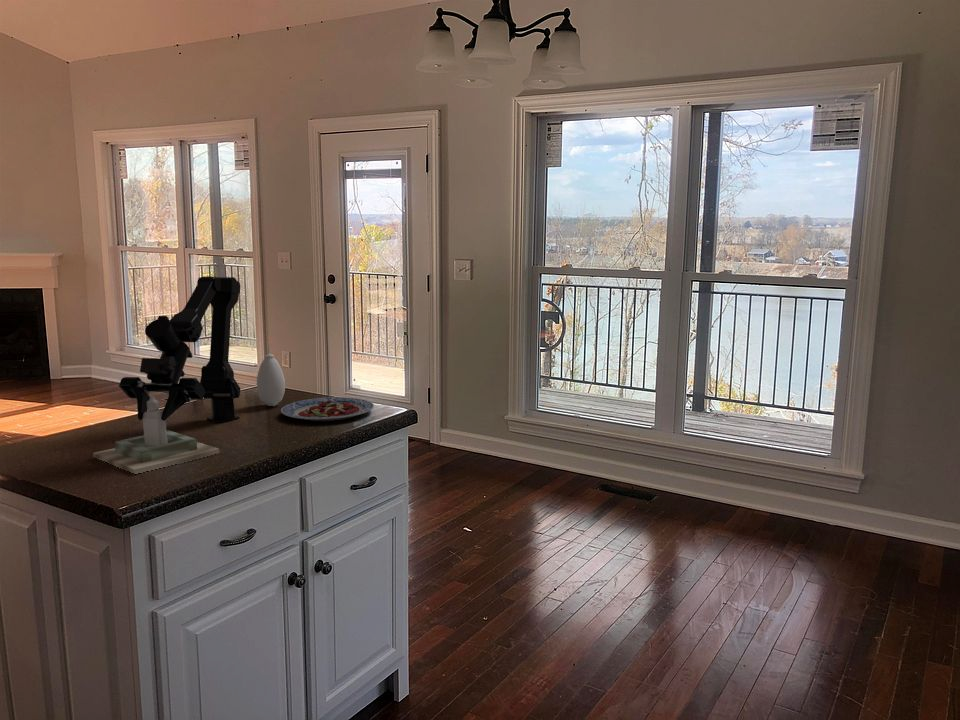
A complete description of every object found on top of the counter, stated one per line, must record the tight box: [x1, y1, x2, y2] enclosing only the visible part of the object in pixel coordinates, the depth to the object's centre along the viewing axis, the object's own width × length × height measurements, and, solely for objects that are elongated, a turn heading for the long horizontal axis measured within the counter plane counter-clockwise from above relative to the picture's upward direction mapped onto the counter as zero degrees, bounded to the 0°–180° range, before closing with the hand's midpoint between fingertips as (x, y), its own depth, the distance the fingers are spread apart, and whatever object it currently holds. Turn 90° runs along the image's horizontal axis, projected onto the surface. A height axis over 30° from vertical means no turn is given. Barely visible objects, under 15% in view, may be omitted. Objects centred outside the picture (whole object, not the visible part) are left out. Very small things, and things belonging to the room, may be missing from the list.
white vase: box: [256, 345, 286, 407], centre depth 226 cm, size 8×8×18 cm
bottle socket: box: [93, 429, 220, 475], centre depth 178 cm, size 20×20×4 cm
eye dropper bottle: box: [142, 394, 168, 447], centre depth 177 cm, size 4×6×12 cm
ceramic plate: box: [280, 396, 375, 422], centre depth 217 cm, size 26×26×3 cm
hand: (151, 419), depth 175 cm, fingers closed on eye dropper bottle, 5 cm apart
